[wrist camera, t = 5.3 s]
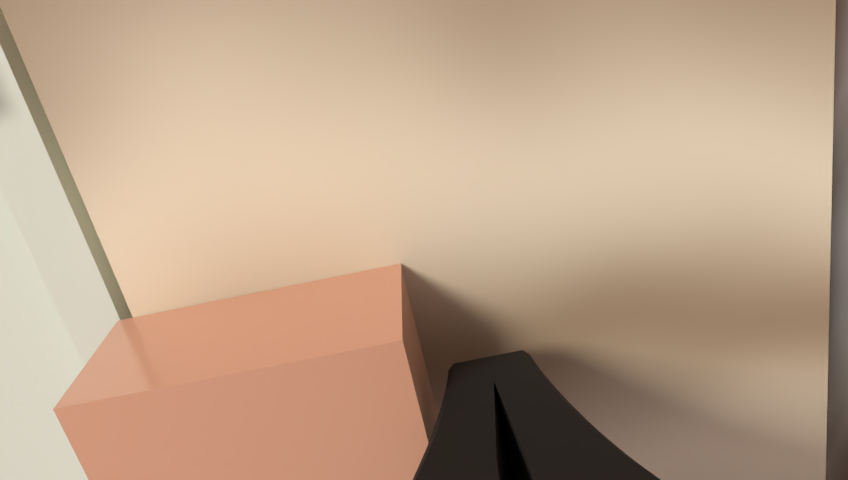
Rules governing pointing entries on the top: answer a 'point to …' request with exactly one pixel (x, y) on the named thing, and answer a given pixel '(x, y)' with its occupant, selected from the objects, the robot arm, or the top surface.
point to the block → (260, 388)
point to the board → (488, 187)
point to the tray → (43, 282)
